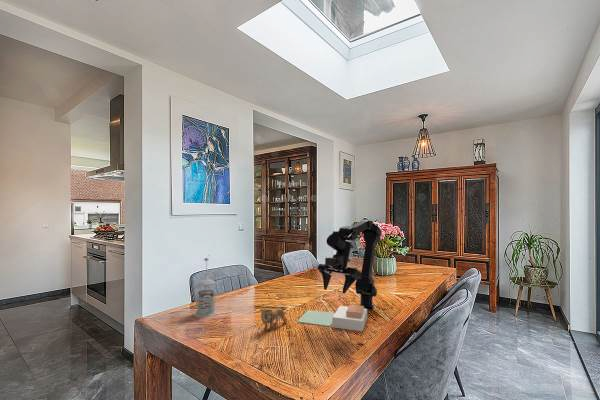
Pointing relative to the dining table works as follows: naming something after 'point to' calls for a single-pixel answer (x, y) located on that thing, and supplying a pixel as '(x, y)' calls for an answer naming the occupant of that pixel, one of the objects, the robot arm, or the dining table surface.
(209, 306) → the french press
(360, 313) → the tile
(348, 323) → the board
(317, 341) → the dining table surface
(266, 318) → the lion figurine
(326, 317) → the mat
